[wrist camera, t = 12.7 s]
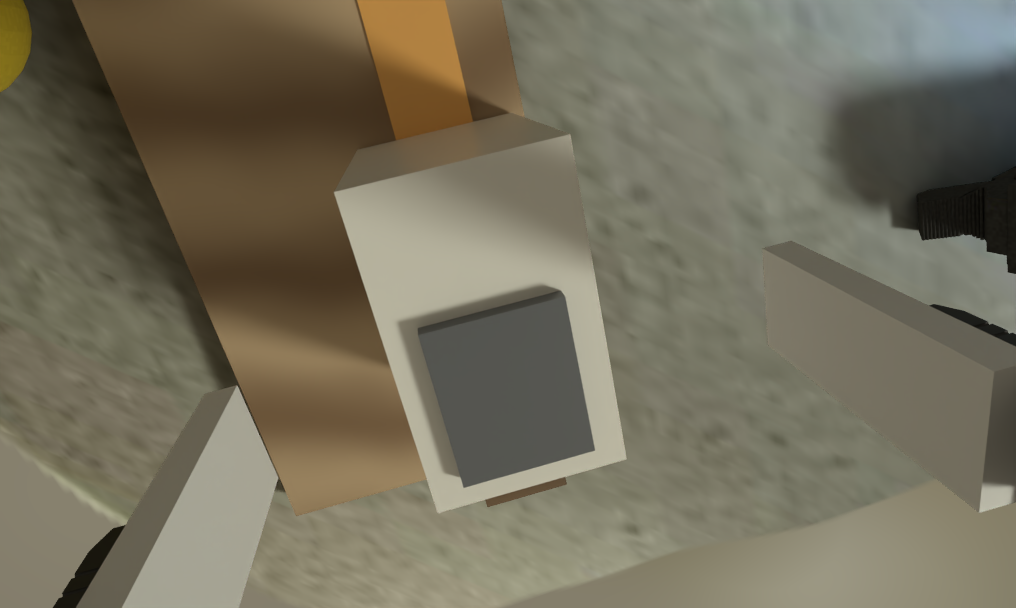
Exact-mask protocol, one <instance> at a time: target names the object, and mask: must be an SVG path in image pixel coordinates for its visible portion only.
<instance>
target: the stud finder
mask: <svg viewBox="0 0 1016 608" xmlns="http://www.w3.org/2000/svg"><path fill="white" fill-rule="evenodd" d="M334 194H335V197H336V200H337V204H338V207H339V210H340V213H341V216H342V219H343V222H344V225H345V228H346V231H347V234H348V237H349V241H350V244H351V247H352V250H353V253H354V256H355V259H356V262H357V265H358V268H359V271H360V275H361V278H362V281H363V284H364V287H365V290H366V293H367V296H368V299H369V302H370V305H371V308H372V312H373V315H374V318H375V321H376V324H377V327H378V330H379V333H380V336H381V339H382V342H383V345H384V349H385V352H386V355H387V358H388V361H389V364H390V367H391V370H392V373H393V376H394V379H395V382H396V386H397V389H398V392H399V395H400V398H401V401H402V404H403V407H404V410H405V413H406V416H407V419H408V423H409V426H410V429H411V432H412V435H413V438H414V441H415V444H416V447H417V450H418V453H419V457H420V460H421V463H422V466H423V469H424V472H425V475H426V478H427V481H428V484H429V487H430V490H431V494H432V497H433V500H434V503H435V506H436V509H437V512H438V513H440V512H444V511H447V510H451V509H454V508H458V507H461V506H465V505H468V504H472V503H475V502H479V501H482V500H486V499H489V498H493V497H496V496H500V495H503V494H507V493H510V492H514V491H517V490H521V489H524V488H528V487H531V486H535V485H538V484H542V483H545V482H549V481H552V480H556V479H559V478H563V477H566V476H570V475H573V474H577V473H580V472H584V471H587V470H591V469H594V468H598V467H601V466H605V465H608V464H612V463H615V462H619V461H622V460H626V453H625V447H624V441H623V436H622V430H621V424H620V418H619V412H618V407H617V401H616V395H615V389H614V384H613V378H612V372H611V366H610V360H609V355H608V349H607V343H606V337H605V332H604V326H603V320H602V314H601V308H600V303H599V297H598V291H597V285H596V280H595V274H594V268H593V262H592V256H591V251H590V245H589V239H588V233H587V228H586V222H585V216H584V210H583V204H582V199H581V193H580V187H579V181H578V176H577V170H576V164H575V158H574V152H573V147H572V141H571V135H570V134H569V133H566V132H563V131H560V130H558V129H555V128H552V127H549V126H547V125H544V124H541V123H538V122H536V121H533V120H530V119H527V118H525V117H522V116H519V115H517V114H514V113H507V114H503V115H499V116H495V117H491V118H487V119H483V120H478V121H474V122H470V123H466V124H462V125H458V126H454V127H449V128H445V129H441V130H437V131H433V132H429V133H425V134H420V135H416V136H412V137H408V138H404V139H400V140H396V141H391V142H387V143H383V144H379V145H375V146H371V147H367V148H362V149H358V150H357V151H356V153H355V155H354V157H353V159H352V160H351V162H350V164H349V166H348V168H347V169H346V171H345V173H344V175H343V177H342V178H341V180H340V182H339V184H338V186H337V187H336V189H335V191H334Z"/></svg>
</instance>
